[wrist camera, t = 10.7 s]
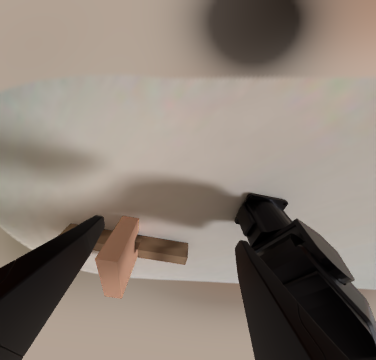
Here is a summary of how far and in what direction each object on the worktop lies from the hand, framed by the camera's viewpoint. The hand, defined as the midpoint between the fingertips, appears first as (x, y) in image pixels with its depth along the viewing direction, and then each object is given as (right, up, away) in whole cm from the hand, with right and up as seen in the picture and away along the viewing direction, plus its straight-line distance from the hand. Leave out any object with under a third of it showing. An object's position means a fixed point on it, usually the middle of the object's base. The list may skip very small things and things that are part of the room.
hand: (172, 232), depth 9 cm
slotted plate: (-11, -9, +19) cm, 24 cm away
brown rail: (-11, -9, +19) cm, 24 cm away
